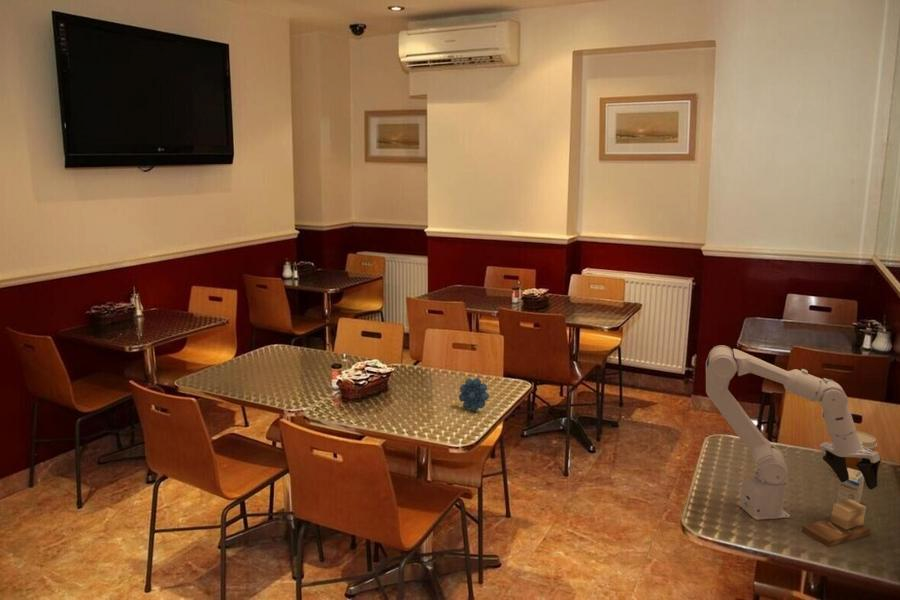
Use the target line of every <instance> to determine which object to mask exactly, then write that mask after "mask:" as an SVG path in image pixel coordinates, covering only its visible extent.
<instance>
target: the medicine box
mask: <svg viewBox="0 0 900 600" xmlns="http://www.w3.org/2000/svg"><path fill="white" fill-rule="evenodd" d="M847 470H848V474H849V479H848V480H847V481H845V482H841V481H840V480H839V485H838V492H837V497H836V501H835V503H838V502H842V501H846V500H849V499H851V500H853V501H855V502H857V503H859V504H861V500H862V494H863V490H864V485H865V479H864V477H863V475H862V473H861V471H858V470H854V469H851V468H847Z"/></svg>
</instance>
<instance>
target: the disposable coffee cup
mask: <svg viewBox="0 0 900 600" xmlns="http://www.w3.org/2000/svg"><path fill="white" fill-rule="evenodd" d="M856 432H857V435H858V438H859V441H860V442H862V443H863V446H864V447H866V448H868V449H870V450H872V451H875V449H876V448H877V446H878V443H877V439H876V437H875V436H873V435H871V434H869V433H866V432H863V431H860V430H856ZM845 459H846V467H847V468H851V469H854V470H858V471H860V470H859V469H858V467H857V466H856V464H857V463H859V462H860V461H862V459H860V458H855V457H845Z"/></svg>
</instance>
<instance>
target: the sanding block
mask: <svg viewBox="0 0 900 600" xmlns="http://www.w3.org/2000/svg"><path fill="white" fill-rule="evenodd" d="M866 511H867V506H865V505H863V504H861V503H857V502H855V501H853V500H851V499H849V500H846V501H842V502H838V503H836V502H835V503H833V506H832V512H831V517H830V518H831V523H832V524H834V525H836V526H838V527H839V528H841V529H843V530H845V531H848V530H851V529H855V528H858V527H862V526H863V525H864V521H865V517H866Z"/></svg>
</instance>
